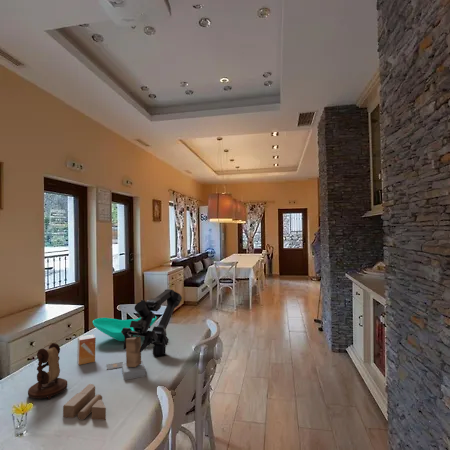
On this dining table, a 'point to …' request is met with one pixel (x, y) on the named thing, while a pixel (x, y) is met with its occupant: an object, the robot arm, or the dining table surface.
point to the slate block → (133, 371)
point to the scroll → (48, 374)
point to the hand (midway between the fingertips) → (132, 350)
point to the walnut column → (133, 351)
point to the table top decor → (115, 326)
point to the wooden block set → (85, 405)
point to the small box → (86, 349)
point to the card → (114, 365)
